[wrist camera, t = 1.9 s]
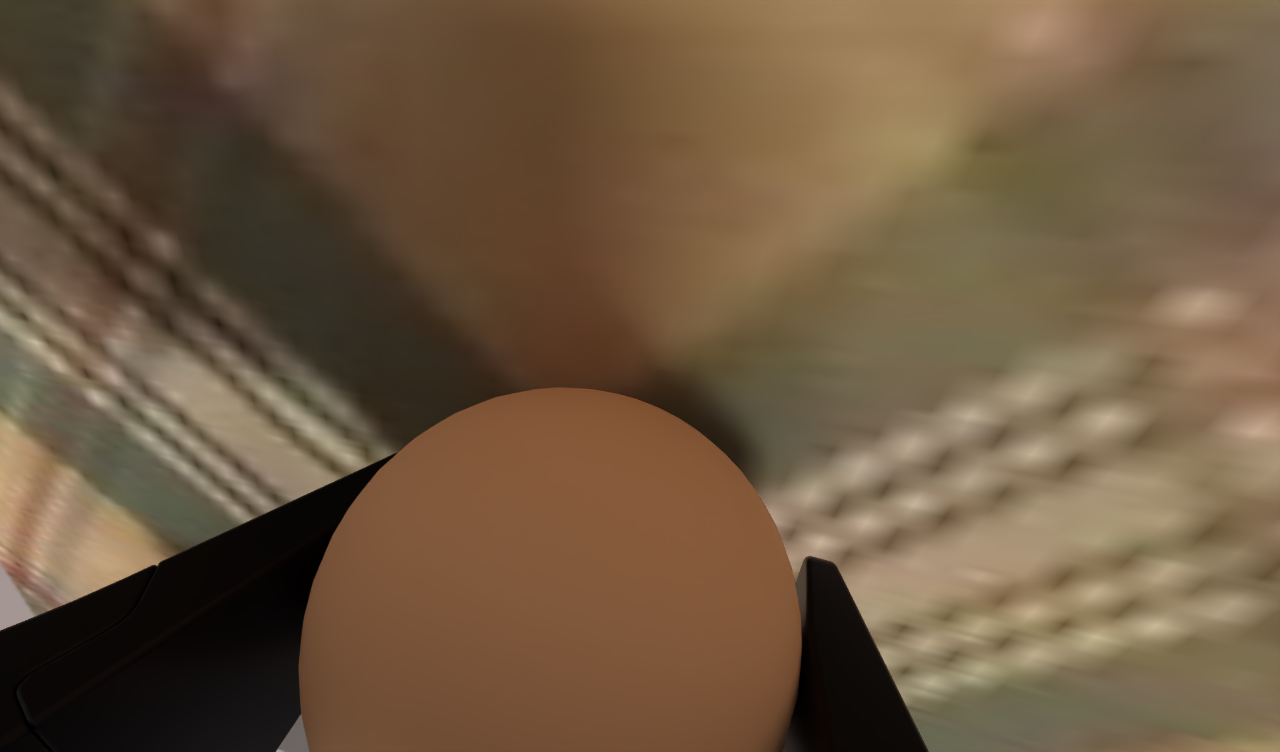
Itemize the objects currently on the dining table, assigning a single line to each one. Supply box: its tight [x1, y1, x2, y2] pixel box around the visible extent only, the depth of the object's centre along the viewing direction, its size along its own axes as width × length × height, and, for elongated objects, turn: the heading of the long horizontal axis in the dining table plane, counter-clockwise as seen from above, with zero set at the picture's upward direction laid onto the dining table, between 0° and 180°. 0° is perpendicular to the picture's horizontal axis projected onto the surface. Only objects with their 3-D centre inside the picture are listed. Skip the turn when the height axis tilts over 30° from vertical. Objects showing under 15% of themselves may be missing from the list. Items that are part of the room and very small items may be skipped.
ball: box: [298, 387, 802, 752], centre depth 8 cm, size 6×6×6 cm
